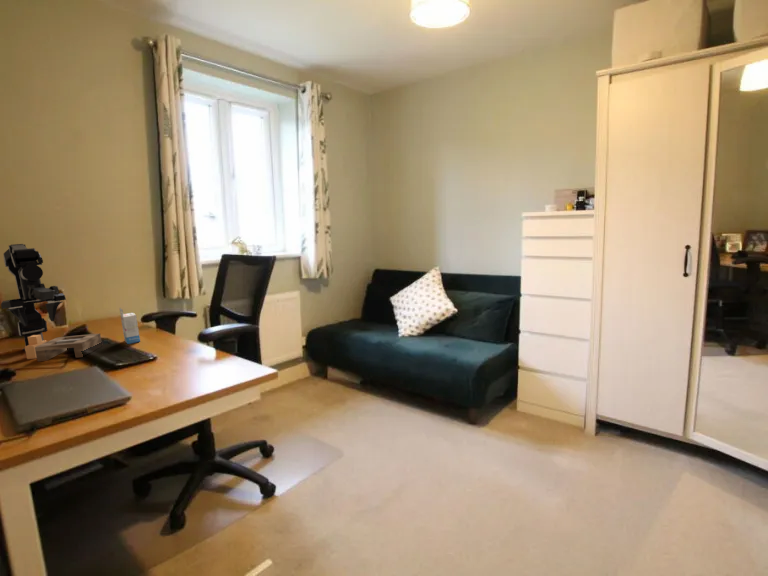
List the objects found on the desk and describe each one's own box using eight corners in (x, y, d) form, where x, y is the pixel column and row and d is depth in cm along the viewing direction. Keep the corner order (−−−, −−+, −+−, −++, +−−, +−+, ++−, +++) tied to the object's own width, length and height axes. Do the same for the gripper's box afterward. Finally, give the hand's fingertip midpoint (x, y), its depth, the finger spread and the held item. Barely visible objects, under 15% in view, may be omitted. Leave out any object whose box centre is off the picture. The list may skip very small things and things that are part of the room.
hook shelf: (59, 350, 170) (57, 337, 170) (102, 346, 173) (100, 333, 172) (37, 361, 157) (34, 347, 156) (84, 356, 159) (81, 342, 158)
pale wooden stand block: (40, 352, 168) (36, 333, 167) (48, 352, 169) (44, 332, 168) (27, 359, 161) (23, 339, 159) (35, 358, 161) (31, 338, 160)
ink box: (141, 341, 177) (135, 307, 174) (127, 344, 174) (121, 309, 171) (137, 338, 183) (132, 305, 181) (124, 340, 180) (118, 307, 178)
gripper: (16, 282, 144) (26, 326, 145) (71, 277, 162) (79, 316, 163) (-5, 286, 148) (5, 329, 149) (51, 280, 165) (60, 319, 166)
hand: (39, 323), depth 157 cm, fingers open, 9 cm apart
